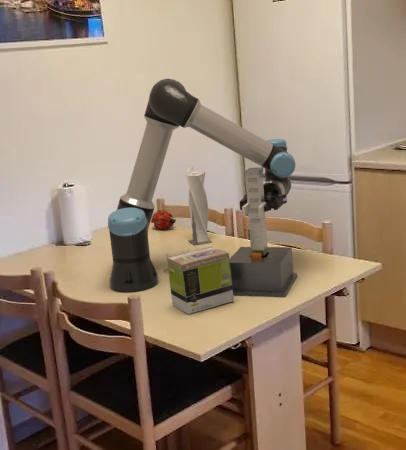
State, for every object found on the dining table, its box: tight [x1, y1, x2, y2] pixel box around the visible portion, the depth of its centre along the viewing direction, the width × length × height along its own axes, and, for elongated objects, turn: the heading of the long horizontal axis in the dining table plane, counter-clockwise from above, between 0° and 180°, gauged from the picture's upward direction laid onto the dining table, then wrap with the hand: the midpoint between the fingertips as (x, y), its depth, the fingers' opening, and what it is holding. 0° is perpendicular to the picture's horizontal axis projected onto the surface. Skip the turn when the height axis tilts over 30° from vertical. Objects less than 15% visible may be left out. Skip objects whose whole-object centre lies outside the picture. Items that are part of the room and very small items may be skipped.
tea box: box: [166, 246, 235, 315], centre depth 197 cm, size 15×10×15 cm, turn 118°
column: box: [243, 166, 269, 256], centre depth 204 cm, size 6×4×25 cm
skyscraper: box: [185, 166, 213, 246], centre depth 260 cm, size 8×8×28 cm
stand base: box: [229, 246, 298, 298], centre depth 208 cm, size 18×18×11 cm
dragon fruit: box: [150, 209, 177, 231], centre depth 286 cm, size 8×8×12 cm
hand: (251, 211), depth 198 cm, fingers closed on column, 4 cm apart
